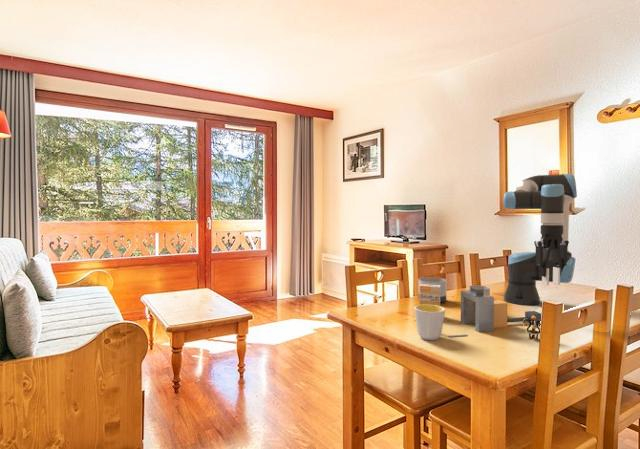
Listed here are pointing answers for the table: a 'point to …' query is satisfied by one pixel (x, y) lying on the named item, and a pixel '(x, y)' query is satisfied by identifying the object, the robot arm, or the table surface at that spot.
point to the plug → (502, 319)
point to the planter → (435, 282)
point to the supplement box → (429, 294)
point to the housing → (477, 309)
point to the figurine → (534, 326)
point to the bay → (457, 335)
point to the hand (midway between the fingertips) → (550, 284)
